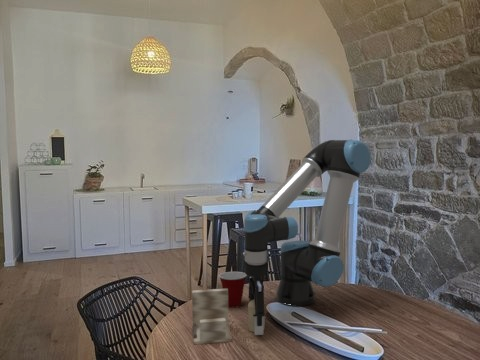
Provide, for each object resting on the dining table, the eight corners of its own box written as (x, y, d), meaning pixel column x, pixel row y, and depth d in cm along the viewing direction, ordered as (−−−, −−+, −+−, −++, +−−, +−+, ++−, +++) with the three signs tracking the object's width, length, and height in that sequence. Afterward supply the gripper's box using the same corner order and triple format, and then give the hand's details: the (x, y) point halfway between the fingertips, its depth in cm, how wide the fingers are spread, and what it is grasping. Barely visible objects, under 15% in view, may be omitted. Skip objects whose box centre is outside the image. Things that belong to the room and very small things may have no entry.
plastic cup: (244, 297, 165) (243, 268, 164) (250, 308, 154) (249, 277, 153) (217, 300, 163) (216, 270, 161) (221, 311, 152) (220, 279, 151)
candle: (263, 333, 134) (263, 304, 133) (246, 332, 135) (246, 302, 134) (265, 326, 140) (265, 297, 139) (249, 324, 141) (249, 296, 140)
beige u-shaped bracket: (227, 324, 141) (227, 288, 140) (232, 341, 129) (231, 301, 128) (192, 326, 139) (192, 290, 138) (193, 344, 128) (193, 304, 126)
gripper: (240, 253, 145) (240, 315, 147) (250, 272, 124) (250, 344, 126) (260, 252, 146) (261, 313, 149) (274, 271, 125) (274, 342, 127)
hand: (256, 327), depth 137 cm, fingers open, 9 cm apart
